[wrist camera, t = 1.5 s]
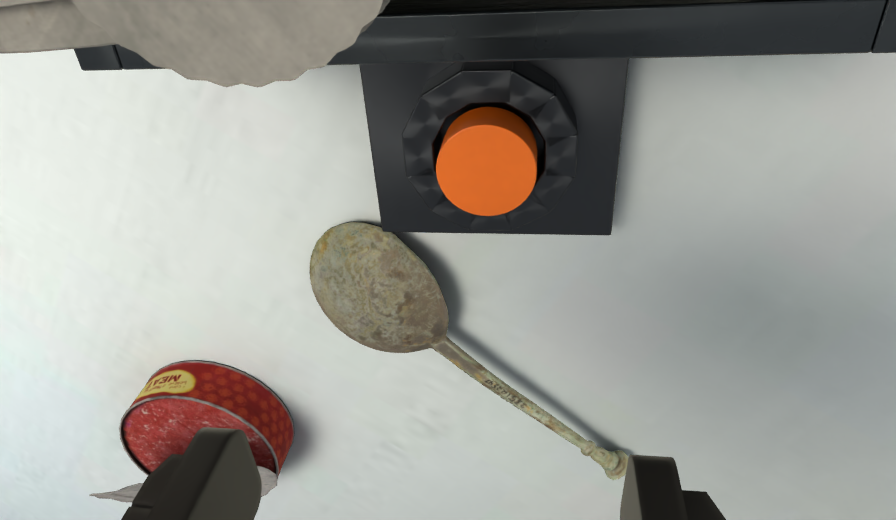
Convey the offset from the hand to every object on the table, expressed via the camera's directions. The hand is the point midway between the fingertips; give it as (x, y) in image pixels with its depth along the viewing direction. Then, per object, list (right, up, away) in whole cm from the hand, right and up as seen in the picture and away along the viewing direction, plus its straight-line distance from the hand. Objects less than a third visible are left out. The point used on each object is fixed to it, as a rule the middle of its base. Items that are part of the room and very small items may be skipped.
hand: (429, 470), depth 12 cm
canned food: (-14, -6, +29) cm, 32 cm away
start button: (+2, +8, +12) cm, 14 cm away
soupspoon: (+2, -1, +23) cm, 23 cm away
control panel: (+2, +10, +15) cm, 18 cm away
